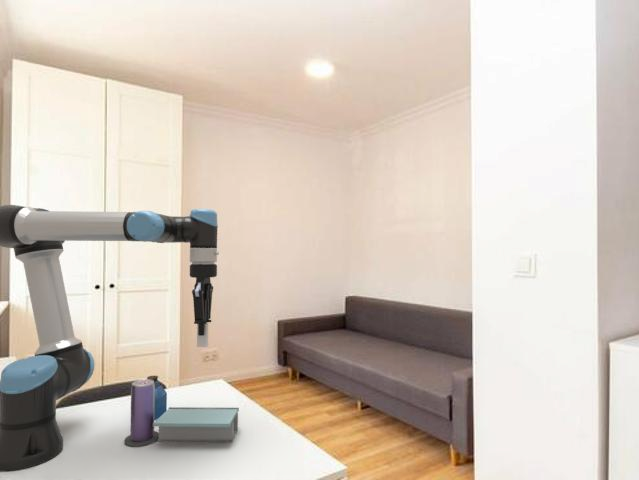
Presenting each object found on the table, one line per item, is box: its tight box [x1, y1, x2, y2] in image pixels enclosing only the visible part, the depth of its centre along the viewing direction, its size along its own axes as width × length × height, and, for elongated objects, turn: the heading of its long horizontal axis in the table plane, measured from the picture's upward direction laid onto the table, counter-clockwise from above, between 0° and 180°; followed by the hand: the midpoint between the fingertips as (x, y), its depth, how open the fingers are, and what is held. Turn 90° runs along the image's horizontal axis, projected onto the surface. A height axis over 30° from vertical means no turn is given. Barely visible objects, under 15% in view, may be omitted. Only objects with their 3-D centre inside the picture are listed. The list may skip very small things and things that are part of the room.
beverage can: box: [129, 378, 155, 442], centre depth 111 cm, size 6×6×15 cm
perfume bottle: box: [146, 375, 168, 421], centre depth 127 cm, size 6×6×12 cm
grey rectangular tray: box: [158, 412, 239, 443], centre depth 113 cm, size 20×7×5 cm, turn 90°
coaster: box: [123, 430, 159, 448], centre depth 111 cm, size 9×9×1 cm
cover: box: [153, 406, 240, 428], centre depth 112 cm, size 20×12×1 cm, turn 90°
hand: (202, 346), depth 116 cm, fingers closed
